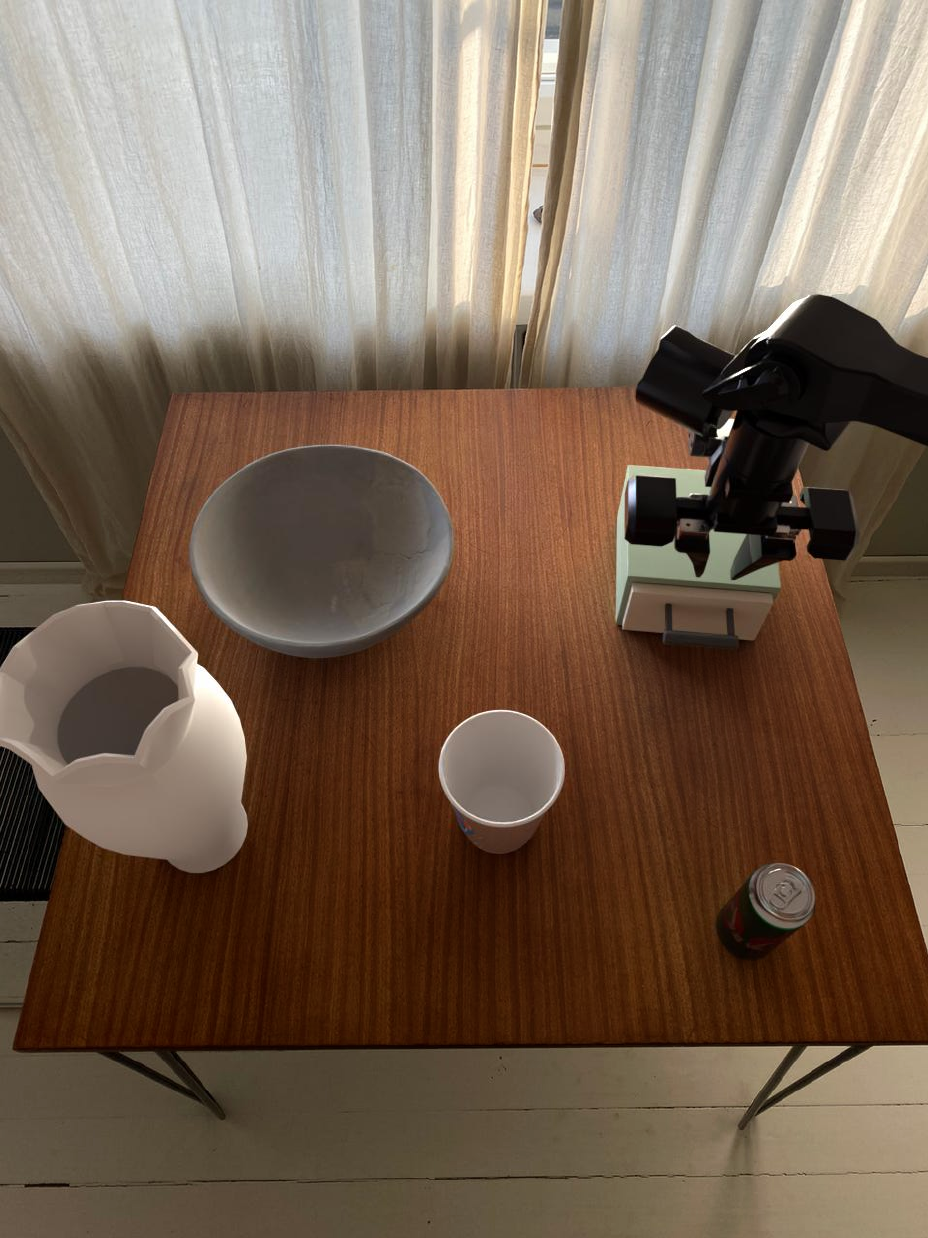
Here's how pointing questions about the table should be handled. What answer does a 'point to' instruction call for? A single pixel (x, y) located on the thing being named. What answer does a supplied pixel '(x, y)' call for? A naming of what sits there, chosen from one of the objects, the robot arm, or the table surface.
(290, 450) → the bowl
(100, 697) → the vase
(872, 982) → the table surface
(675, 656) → the table surface
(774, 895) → the soda can
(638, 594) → the drawer
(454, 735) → the coffee cup
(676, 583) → the cabinet
